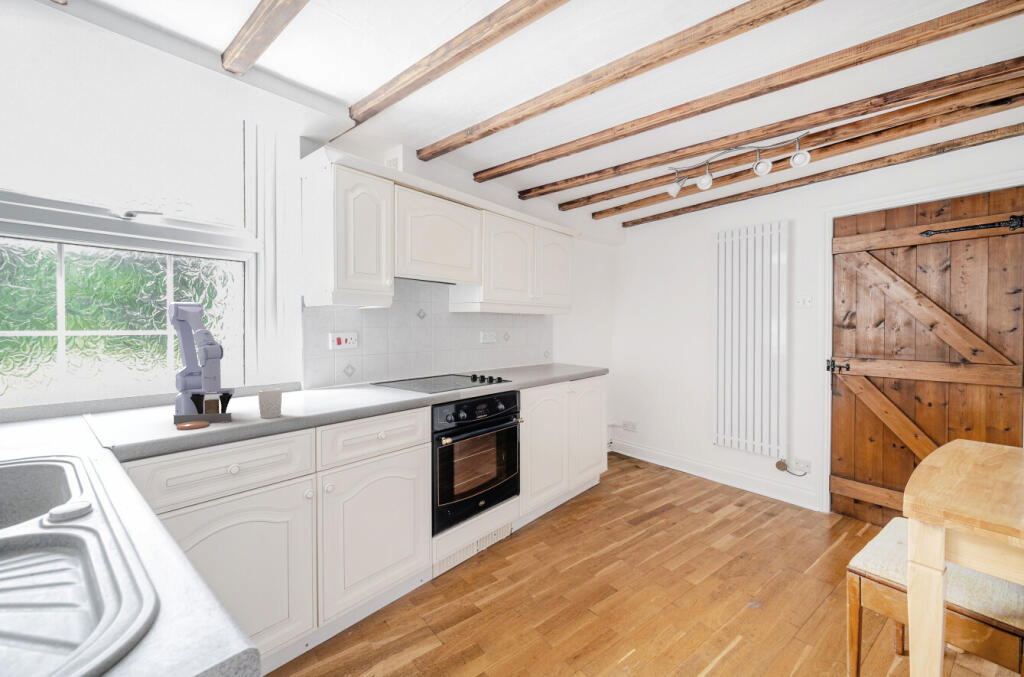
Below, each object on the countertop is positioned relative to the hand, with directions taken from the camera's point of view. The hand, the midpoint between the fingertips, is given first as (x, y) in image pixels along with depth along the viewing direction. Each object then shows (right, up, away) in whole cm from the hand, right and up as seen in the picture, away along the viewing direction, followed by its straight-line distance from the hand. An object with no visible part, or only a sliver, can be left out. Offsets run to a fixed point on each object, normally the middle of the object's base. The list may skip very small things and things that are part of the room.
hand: (212, 414), depth 161 cm
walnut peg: (0, -2, 0) cm, 2 cm away
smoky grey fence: (+1, -2, -6) cm, 7 cm away
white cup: (+19, -2, +4) cm, 20 cm away
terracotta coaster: (+2, -2, -13) cm, 13 cm away
